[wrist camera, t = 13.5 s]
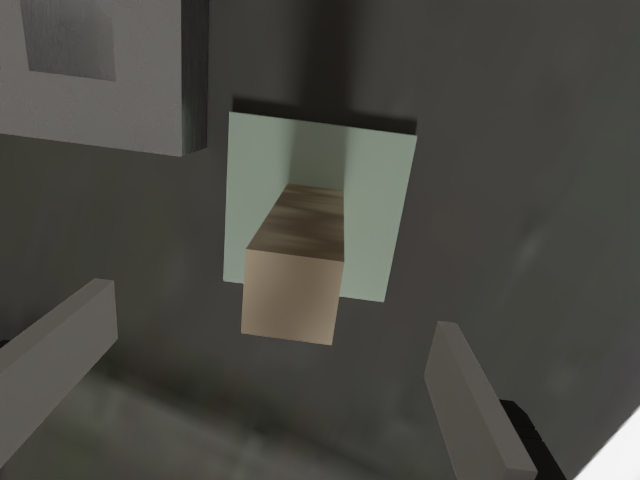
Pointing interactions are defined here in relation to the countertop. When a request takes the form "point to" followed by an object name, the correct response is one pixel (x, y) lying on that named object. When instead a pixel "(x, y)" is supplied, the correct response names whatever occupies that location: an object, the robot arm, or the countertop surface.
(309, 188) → the square peg
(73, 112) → the hole block
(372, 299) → the pad
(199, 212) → the countertop surface
